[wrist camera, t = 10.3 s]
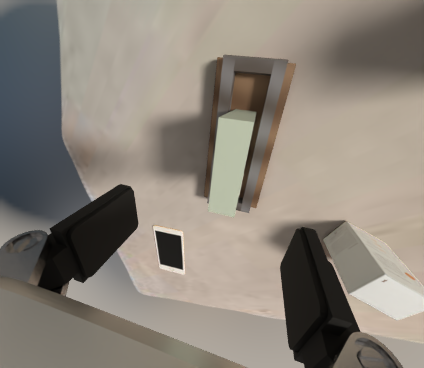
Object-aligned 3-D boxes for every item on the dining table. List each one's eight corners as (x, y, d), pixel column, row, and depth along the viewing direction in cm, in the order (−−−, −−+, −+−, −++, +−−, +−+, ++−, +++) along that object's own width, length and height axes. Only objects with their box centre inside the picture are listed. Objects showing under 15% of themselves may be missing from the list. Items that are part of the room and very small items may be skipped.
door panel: (235, 109, 25) (218, 117, 15) (256, 111, 24) (254, 122, 14) (225, 171, 30) (207, 211, 19) (243, 174, 29) (234, 217, 19)
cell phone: (160, 266, 50) (159, 268, 49) (153, 223, 42) (152, 225, 42) (185, 273, 48) (184, 275, 48) (183, 229, 41) (182, 231, 40)
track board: (219, 59, 24) (213, 53, 21) (294, 65, 22) (299, 60, 19) (205, 193, 34) (201, 201, 31) (256, 204, 32) (255, 214, 30)
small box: (321, 238, 32) (346, 293, 23) (346, 219, 29) (385, 273, 20) (358, 259, 32) (396, 322, 23) (386, 242, 30) (442, 306, 20)
